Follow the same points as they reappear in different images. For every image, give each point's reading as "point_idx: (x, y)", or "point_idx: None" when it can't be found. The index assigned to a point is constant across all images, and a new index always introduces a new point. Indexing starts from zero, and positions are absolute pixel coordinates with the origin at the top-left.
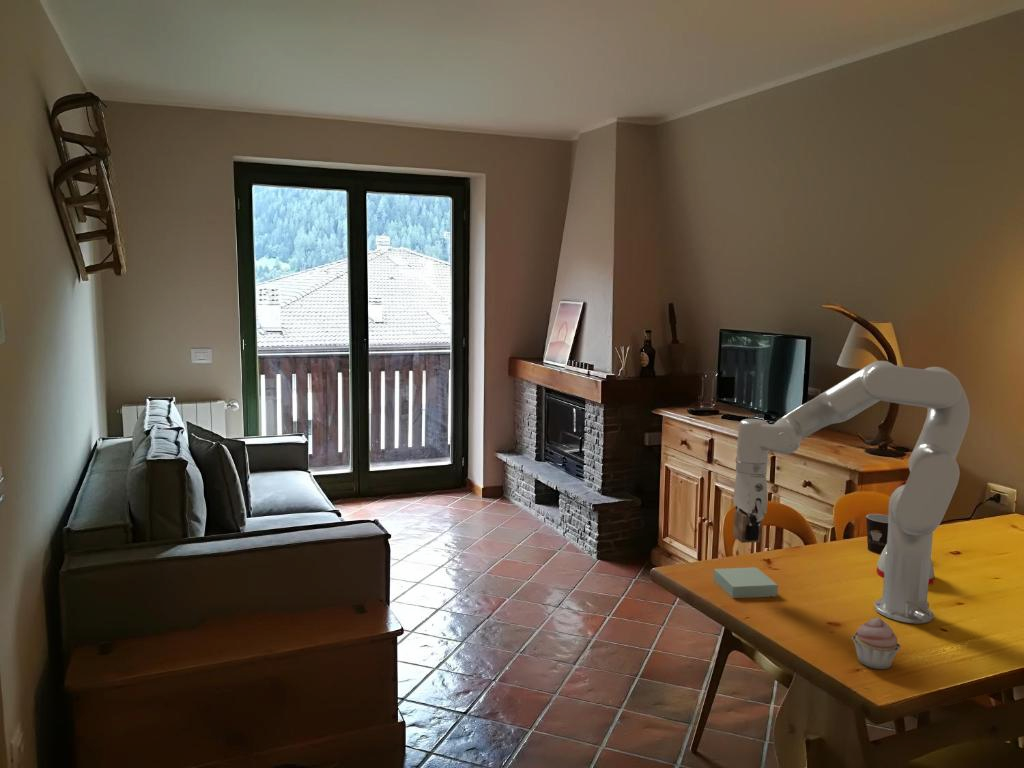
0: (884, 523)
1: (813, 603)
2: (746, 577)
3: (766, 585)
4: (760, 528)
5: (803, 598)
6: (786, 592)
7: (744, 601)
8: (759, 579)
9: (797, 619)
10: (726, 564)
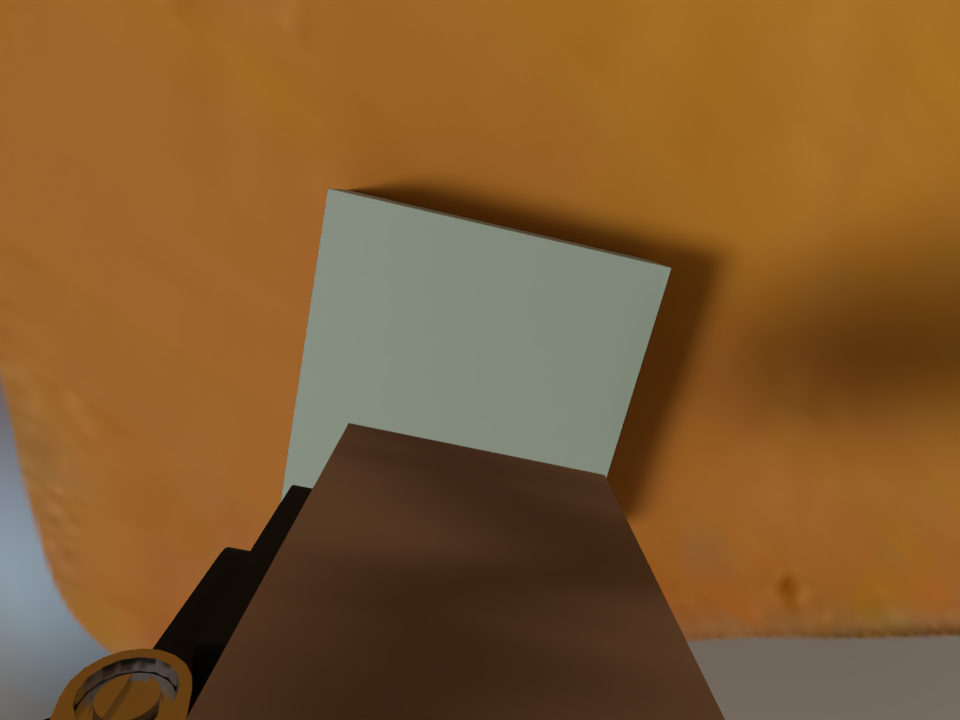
0: None
1: (830, 103)
2: (479, 391)
3: (644, 350)
4: (662, 604)
5: (742, 109)
6: (621, 152)
7: (627, 486)
8: (541, 327)
9: (935, 367)
10: (63, 224)
